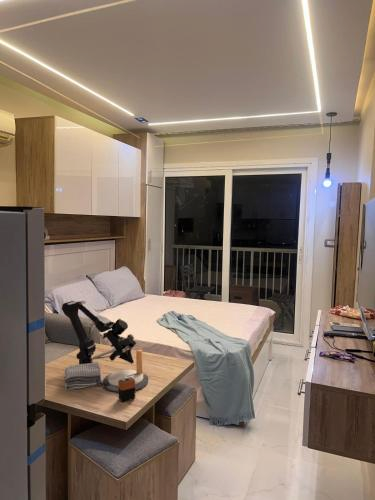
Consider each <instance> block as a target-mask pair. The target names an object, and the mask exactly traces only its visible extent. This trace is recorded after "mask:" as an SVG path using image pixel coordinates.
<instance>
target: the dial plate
mask: <svg viewBox="0 0 375 500" xmlns="http://www.w3.org/2000/svg"><path fill="white" fill-rule="evenodd" d="M112 373H113V372H112ZM112 373H110V374H112ZM110 374H109V373H108V374H107V375H105V377H104V378H102V380H103V383H102V386H103V388H104V390H107V391H108V392H111V393H114V394H115V393H117V394H119V387H117V386H113V385H111V384H109V382H108V377H109V375H110ZM142 374H143V380H142V382H140V383H139V384H137V385H135V392H137V391H140V390H142V389H144V388H145V387H147V385H148V384H149V377H148V375H147V374H146V373H145V372H143V371H142Z"/></svg>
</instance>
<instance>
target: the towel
mask: <svg viewBox="0 0 375 500" xmlns="http://www.w3.org/2000/svg"><path fill="white" fill-rule="evenodd" d="M64 370H65V371H64V374H65V375H64V389H65V391H72V390H73V391H74V390H79V389H86V388H91V387H97V386H103V377H102V376H101V367H100V363H99V362H98V361H96V362H94V361H93V363H88V364H80V365H79V364H75V365H74V364H73V365H69V366H67V367H66V368H65V369H64Z"/></svg>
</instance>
